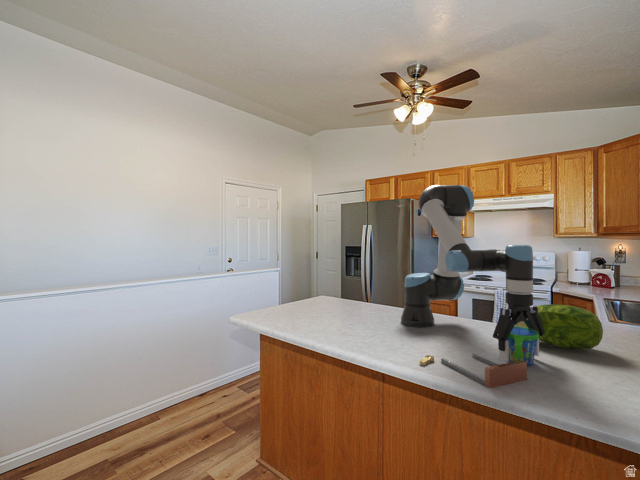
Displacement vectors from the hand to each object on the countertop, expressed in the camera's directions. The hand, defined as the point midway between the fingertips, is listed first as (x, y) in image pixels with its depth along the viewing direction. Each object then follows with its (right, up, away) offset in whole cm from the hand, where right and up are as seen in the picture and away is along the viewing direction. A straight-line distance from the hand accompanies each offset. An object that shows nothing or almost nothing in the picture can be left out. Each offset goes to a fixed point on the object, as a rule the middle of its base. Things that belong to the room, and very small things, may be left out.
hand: (519, 357), depth 102 cm
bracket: (-16, -2, -6) cm, 17 cm away
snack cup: (0, -2, 0) cm, 2 cm away
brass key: (-31, -2, 0) cm, 31 cm away
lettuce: (+22, -1, +14) cm, 27 cm away
